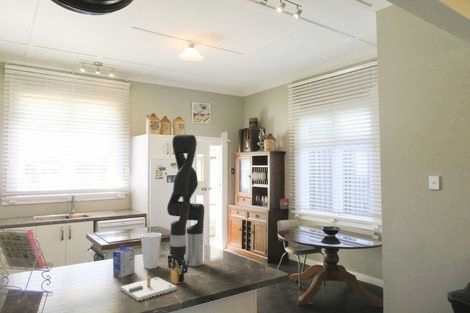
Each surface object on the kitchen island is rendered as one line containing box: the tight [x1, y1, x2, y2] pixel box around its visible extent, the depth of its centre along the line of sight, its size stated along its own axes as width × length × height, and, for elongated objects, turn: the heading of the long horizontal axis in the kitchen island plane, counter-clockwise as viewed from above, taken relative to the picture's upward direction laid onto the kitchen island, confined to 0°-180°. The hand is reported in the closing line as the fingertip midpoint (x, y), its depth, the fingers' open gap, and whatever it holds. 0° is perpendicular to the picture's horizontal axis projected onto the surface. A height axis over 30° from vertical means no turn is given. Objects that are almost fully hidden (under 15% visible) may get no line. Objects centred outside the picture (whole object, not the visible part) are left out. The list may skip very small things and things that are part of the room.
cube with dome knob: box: [170, 267, 185, 285], centre depth 153 cm, size 4×4×6 cm
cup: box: [140, 232, 162, 270], centre depth 174 cm, size 11×10×17 cm
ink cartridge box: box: [112, 243, 136, 279], centre depth 162 cm, size 10×6×14 cm, turn 155°
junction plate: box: [120, 276, 177, 302], centre depth 142 cm, size 16×18×6 cm
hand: (177, 280), depth 152 cm, fingers open, 5 cm apart
